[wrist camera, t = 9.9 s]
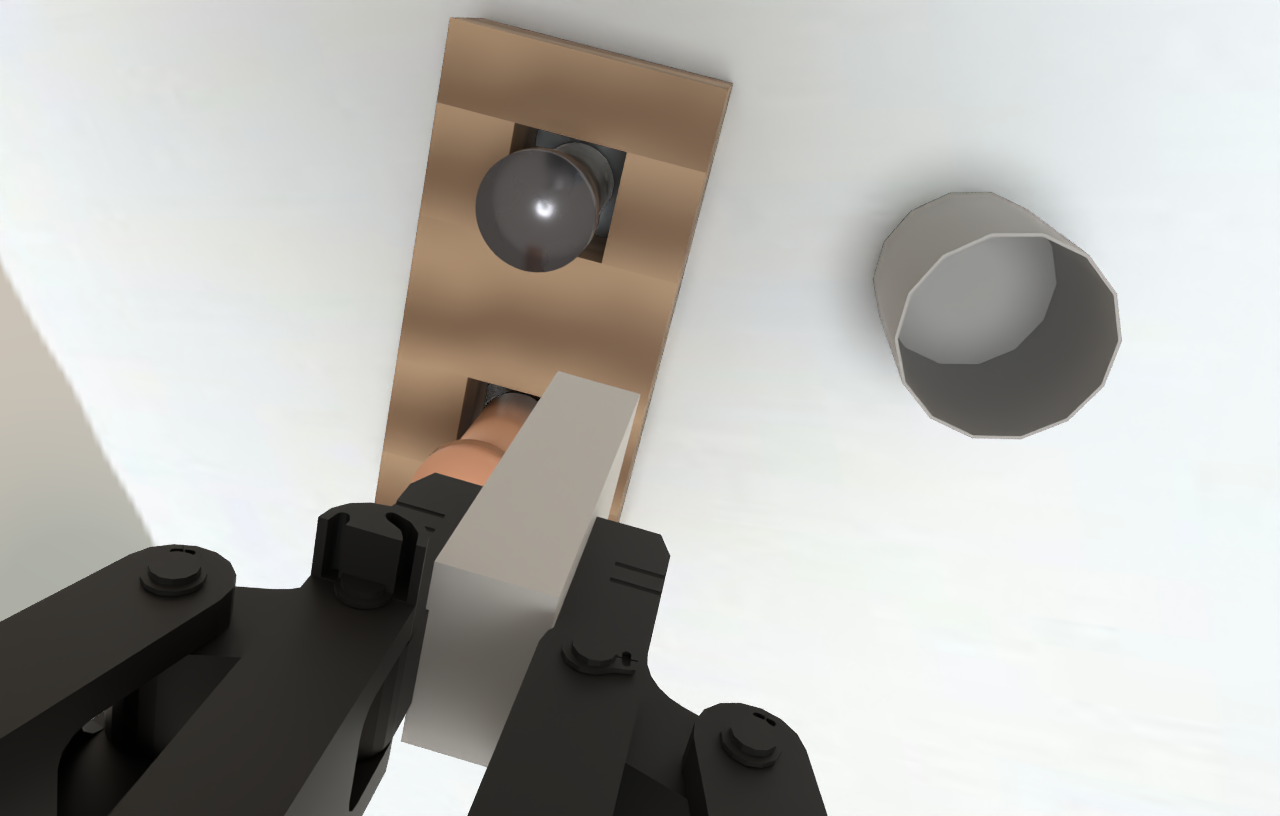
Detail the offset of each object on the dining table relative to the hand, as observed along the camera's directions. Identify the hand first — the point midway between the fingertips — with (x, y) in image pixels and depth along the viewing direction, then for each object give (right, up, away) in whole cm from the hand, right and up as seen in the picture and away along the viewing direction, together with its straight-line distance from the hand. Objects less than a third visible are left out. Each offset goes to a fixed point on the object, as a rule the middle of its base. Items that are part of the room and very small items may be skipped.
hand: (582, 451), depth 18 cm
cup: (+17, +7, +31) cm, 35 cm away
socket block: (-3, +6, +33) cm, 34 cm away
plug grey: (-2, +12, +30) cm, 32 cm away
